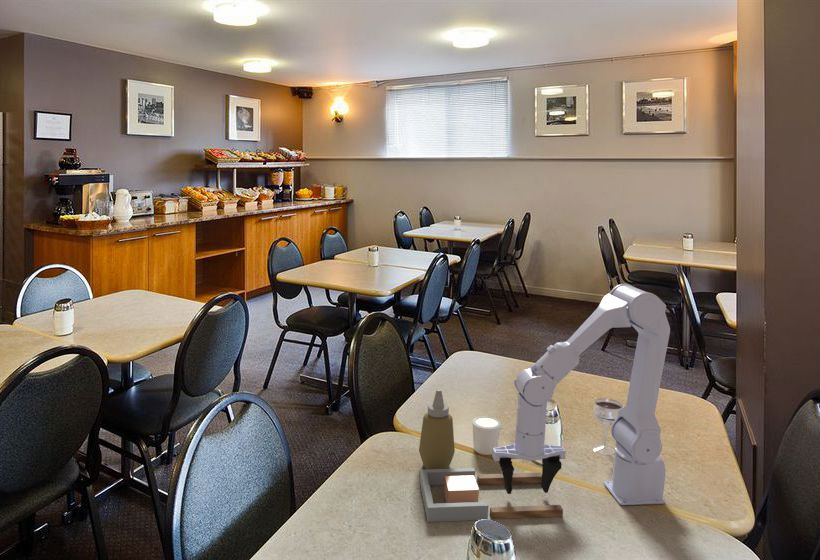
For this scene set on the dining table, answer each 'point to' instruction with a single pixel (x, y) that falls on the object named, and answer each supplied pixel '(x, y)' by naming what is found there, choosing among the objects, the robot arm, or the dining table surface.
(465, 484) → the block
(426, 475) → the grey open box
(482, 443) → the white cup
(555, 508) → the channel
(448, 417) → the squeeze bottle
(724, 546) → the dining table surface
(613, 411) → the wineglass
